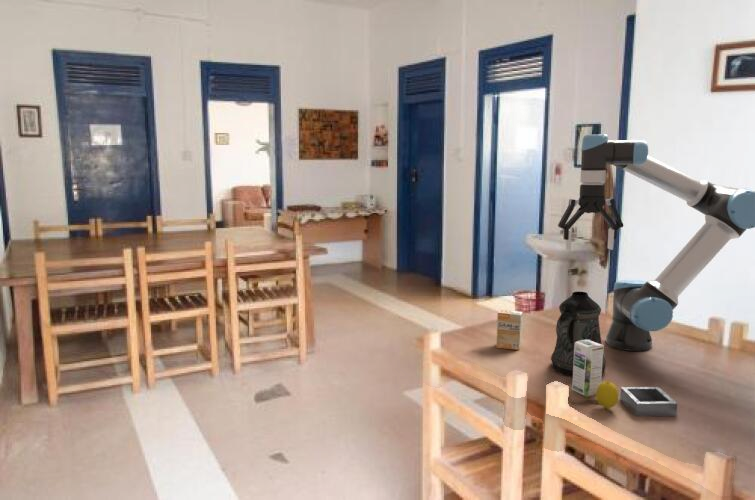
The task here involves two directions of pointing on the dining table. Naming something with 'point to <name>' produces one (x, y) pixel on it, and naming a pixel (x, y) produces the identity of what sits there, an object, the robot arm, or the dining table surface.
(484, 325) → the dining table surface
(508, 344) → the supplement box
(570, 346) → the beer stein
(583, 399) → the walnut board
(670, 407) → the metal collar
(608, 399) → the lemon
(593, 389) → the syrup box
